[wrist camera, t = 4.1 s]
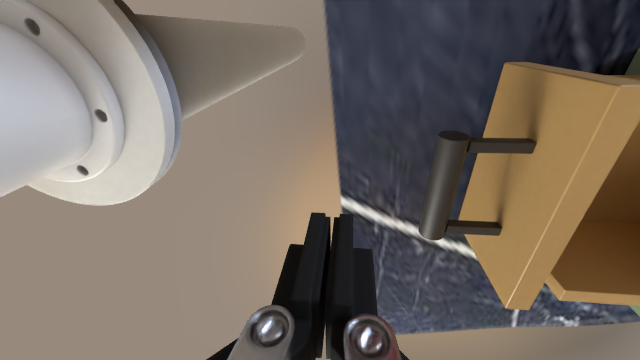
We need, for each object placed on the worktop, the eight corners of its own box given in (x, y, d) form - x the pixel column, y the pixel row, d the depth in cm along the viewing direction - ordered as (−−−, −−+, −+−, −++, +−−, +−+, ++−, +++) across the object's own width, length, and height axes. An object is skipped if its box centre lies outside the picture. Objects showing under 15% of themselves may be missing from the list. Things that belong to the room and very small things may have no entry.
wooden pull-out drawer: (400, 220, 21) (422, 302, 14) (425, 63, 15) (478, 86, 9) (652, 231, 19) (803, 330, 13) (786, 57, 13) (1179, 80, 7)
